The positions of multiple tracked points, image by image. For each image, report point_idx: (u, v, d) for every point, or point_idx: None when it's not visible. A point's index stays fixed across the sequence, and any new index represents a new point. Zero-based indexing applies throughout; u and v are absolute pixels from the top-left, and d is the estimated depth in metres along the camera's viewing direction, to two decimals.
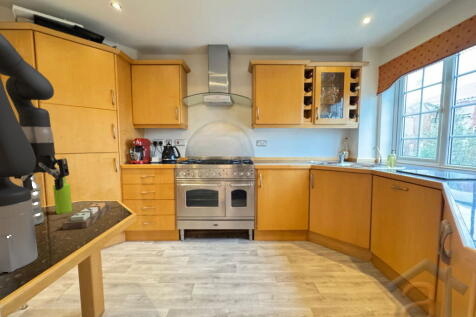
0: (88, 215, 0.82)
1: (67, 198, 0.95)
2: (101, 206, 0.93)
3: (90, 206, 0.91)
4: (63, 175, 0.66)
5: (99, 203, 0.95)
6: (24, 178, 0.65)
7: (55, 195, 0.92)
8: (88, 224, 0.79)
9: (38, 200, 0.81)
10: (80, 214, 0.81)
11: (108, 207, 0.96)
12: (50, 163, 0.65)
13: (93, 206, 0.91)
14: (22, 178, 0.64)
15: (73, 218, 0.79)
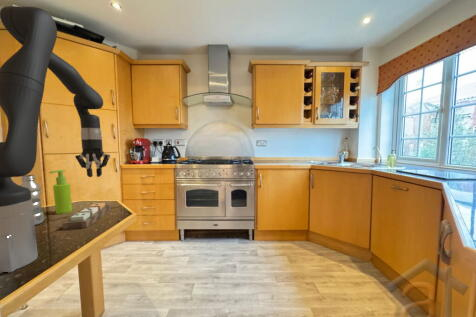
0: (88, 215, 0.82)
1: (67, 198, 0.95)
2: (101, 206, 0.93)
3: (90, 206, 0.91)
4: (102, 166, 0.91)
5: (99, 203, 0.95)
6: (88, 167, 0.91)
7: (55, 195, 0.92)
8: (88, 224, 0.79)
9: (38, 200, 0.81)
10: (80, 214, 0.81)
11: (108, 207, 0.96)
12: (99, 156, 0.91)
13: (93, 206, 0.91)
14: (87, 167, 0.90)
15: (73, 218, 0.79)
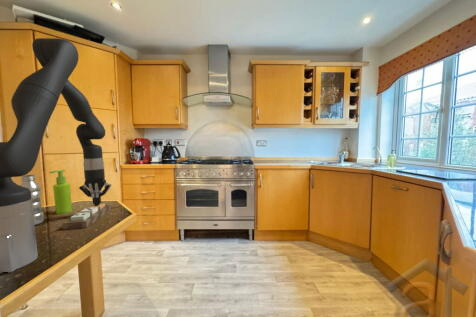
0: (88, 215, 0.82)
1: (67, 198, 0.95)
2: (101, 207, 0.93)
3: (90, 207, 0.91)
4: (101, 195, 0.92)
5: None
6: (94, 196, 0.92)
7: (55, 195, 0.92)
8: (88, 224, 0.79)
9: (38, 200, 0.81)
10: (80, 214, 0.81)
11: (108, 207, 0.96)
12: (101, 186, 0.92)
13: None
14: (92, 196, 0.92)
15: (73, 218, 0.79)
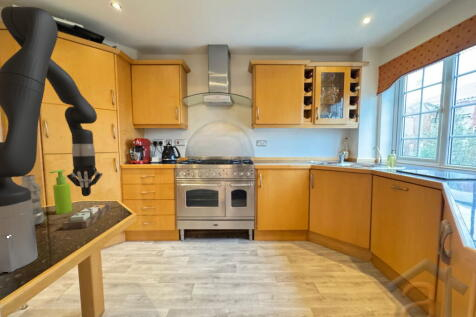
0: (88, 215, 0.82)
1: (67, 198, 0.95)
2: (101, 208, 0.93)
3: None
4: (91, 184, 0.85)
5: (99, 205, 0.95)
6: (83, 185, 0.84)
7: (55, 195, 0.92)
8: (88, 224, 0.79)
9: (38, 200, 0.81)
10: (80, 214, 0.81)
11: (108, 207, 0.96)
12: (91, 175, 0.85)
13: None
14: (81, 185, 0.84)
15: (73, 218, 0.79)
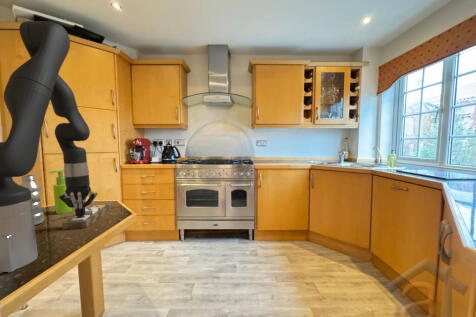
0: None
1: None
2: (101, 208, 0.93)
3: None
4: (85, 205, 0.80)
5: (99, 205, 0.95)
6: (77, 207, 0.79)
7: (55, 195, 0.92)
8: (88, 224, 0.79)
9: (38, 200, 0.81)
10: None
11: (108, 207, 0.96)
12: (85, 196, 0.80)
13: None
14: (75, 207, 0.79)
15: None
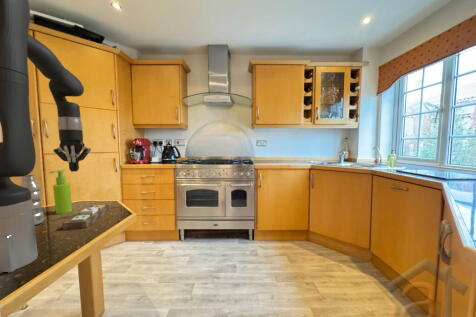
0: None
1: (67, 198, 0.95)
2: (101, 208, 0.93)
3: None
4: (79, 159, 0.82)
5: (99, 205, 0.95)
6: (70, 160, 0.82)
7: (55, 195, 0.92)
8: (88, 224, 0.79)
9: (38, 200, 0.81)
10: (80, 216, 0.81)
11: (108, 207, 0.96)
12: (78, 150, 0.82)
13: None
14: (69, 160, 0.82)
15: None
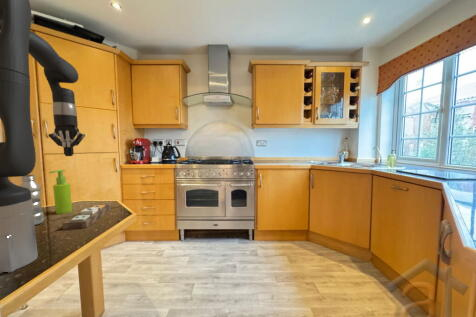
0: None
1: (67, 198, 0.95)
2: (101, 208, 0.93)
3: None
4: (73, 144, 0.85)
5: (99, 205, 0.95)
6: (65, 145, 0.84)
7: (55, 195, 0.92)
8: (88, 224, 0.79)
9: (38, 200, 0.81)
10: (80, 216, 0.81)
11: (108, 207, 0.96)
12: (73, 135, 0.84)
13: None
14: (63, 145, 0.84)
15: None
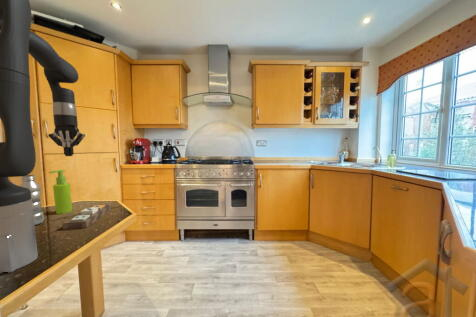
0: None
1: (67, 198, 0.95)
2: (101, 208, 0.93)
3: None
4: (73, 144, 0.85)
5: (99, 205, 0.95)
6: (65, 145, 0.84)
7: (55, 195, 0.92)
8: (88, 224, 0.79)
9: (38, 200, 0.81)
10: (80, 216, 0.81)
11: (108, 207, 0.96)
12: (73, 135, 0.84)
13: None
14: (63, 145, 0.84)
15: None
